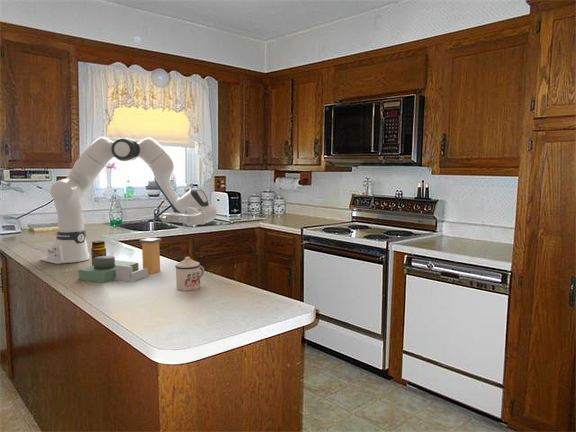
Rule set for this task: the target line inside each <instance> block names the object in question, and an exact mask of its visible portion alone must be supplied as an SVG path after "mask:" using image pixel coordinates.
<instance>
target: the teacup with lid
mask: <svg viewBox="0 0 576 432" xmlns="http://www.w3.org/2000/svg"><path fill="white" fill-rule="evenodd" d="M174 267H175V277H176V278H175V280H176V281H175V282H176V284H175V285H176V289H177V290H179V291H183V292H188V291H189V292H191V291H196V290H198V289H200V288H201V279H202V278H203V276H204V274H205V268H204V267H203V266H202V265H201V264H200V262H199V261H196V260H193V259H192V258H191V257H190V256H185V257H184V259H182V260H181V261H179V262H177V263H176V264H175V266H174ZM200 271H201V272H200Z"/></svg>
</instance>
